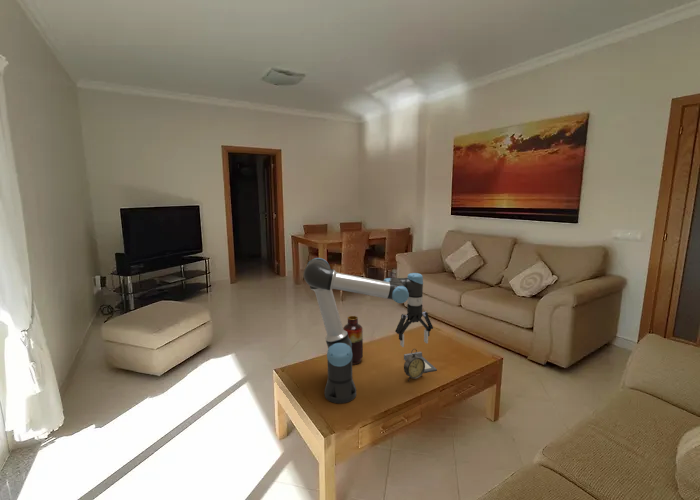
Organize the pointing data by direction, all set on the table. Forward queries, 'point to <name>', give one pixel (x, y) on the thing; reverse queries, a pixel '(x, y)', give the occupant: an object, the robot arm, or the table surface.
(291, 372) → the table surface
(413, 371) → the alarm clock
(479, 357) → the table surface
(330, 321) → the robot arm
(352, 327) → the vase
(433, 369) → the mat
